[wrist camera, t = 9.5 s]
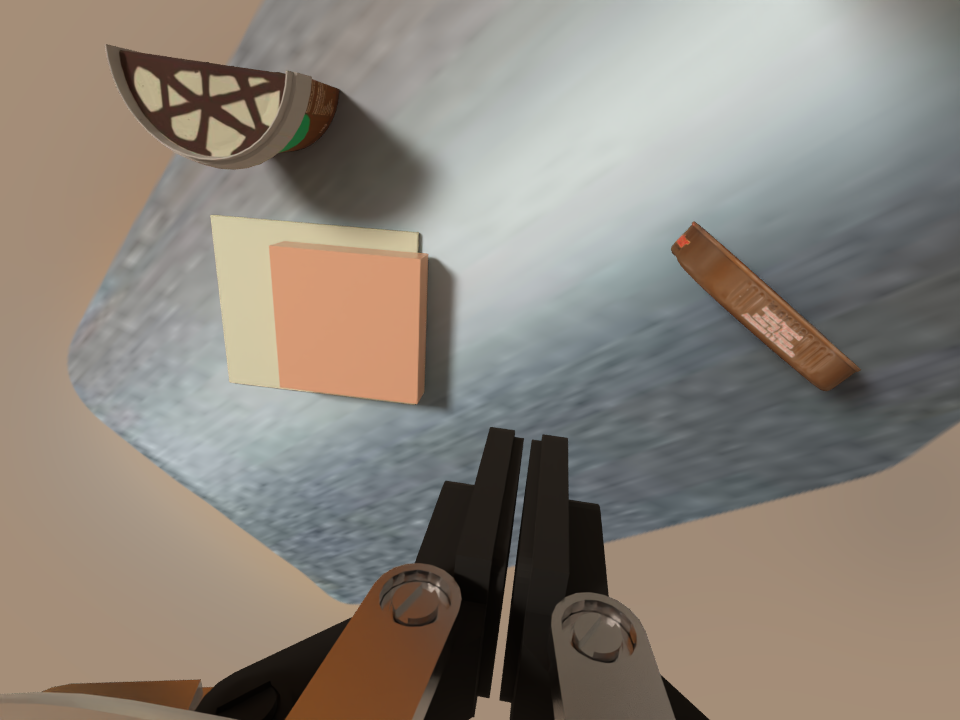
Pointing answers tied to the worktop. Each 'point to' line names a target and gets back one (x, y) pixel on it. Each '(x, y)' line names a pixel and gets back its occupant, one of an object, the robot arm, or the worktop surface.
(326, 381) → the tile
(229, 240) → the mat
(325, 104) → the food container
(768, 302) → the tin
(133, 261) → the worktop surface
